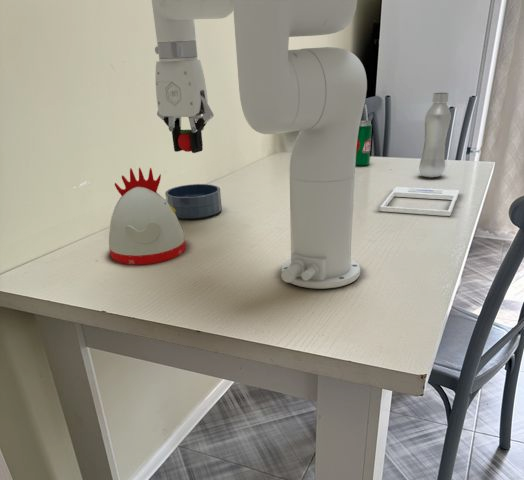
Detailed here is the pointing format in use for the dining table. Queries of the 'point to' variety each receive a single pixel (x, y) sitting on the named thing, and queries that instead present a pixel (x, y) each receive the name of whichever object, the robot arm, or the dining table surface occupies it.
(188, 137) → the red tomato
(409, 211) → the photo frame
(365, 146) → the soda can
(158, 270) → the dining table surface
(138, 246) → the kitchen timer
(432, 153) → the plastic bottle
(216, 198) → the bowl
